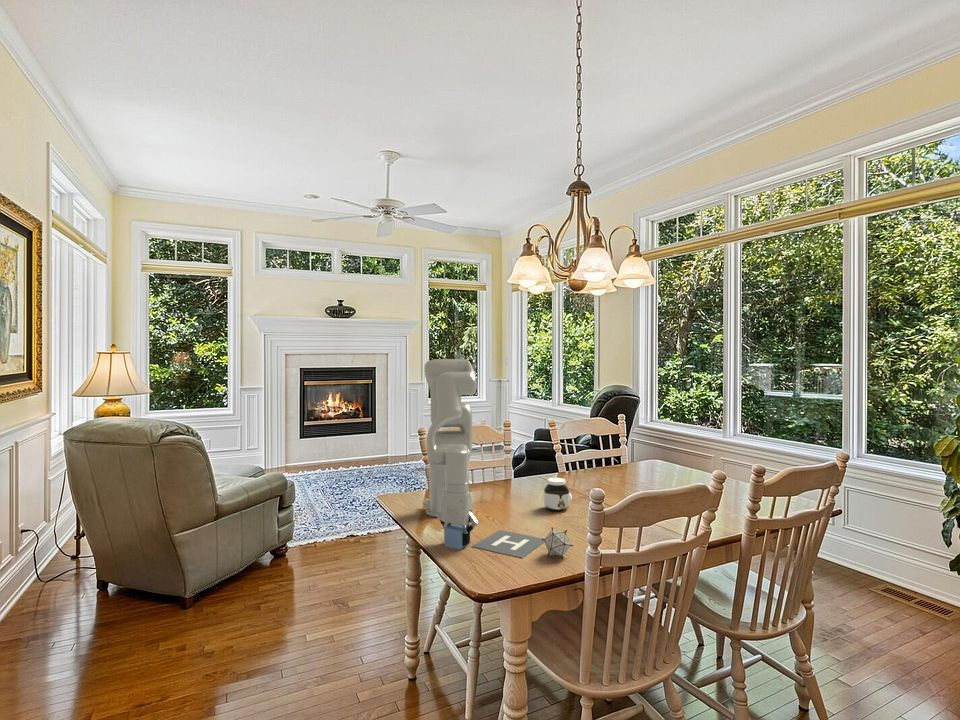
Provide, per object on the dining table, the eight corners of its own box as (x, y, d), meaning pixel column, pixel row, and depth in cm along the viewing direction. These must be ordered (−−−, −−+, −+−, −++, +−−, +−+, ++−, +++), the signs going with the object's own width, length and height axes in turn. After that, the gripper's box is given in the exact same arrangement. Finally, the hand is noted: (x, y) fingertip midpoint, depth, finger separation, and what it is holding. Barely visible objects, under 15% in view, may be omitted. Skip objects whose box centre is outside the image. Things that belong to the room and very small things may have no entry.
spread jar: (545, 512, 205) (545, 482, 205) (541, 503, 216) (541, 475, 216) (576, 512, 205) (576, 482, 205) (570, 503, 216) (570, 475, 216)
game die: (542, 556, 165) (532, 536, 160) (559, 536, 169) (550, 516, 164) (564, 569, 159) (554, 549, 154) (581, 548, 162) (572, 528, 157)
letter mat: (472, 546, 169) (472, 545, 169) (499, 530, 184) (499, 529, 184) (522, 558, 160) (522, 557, 160) (547, 539, 175) (547, 539, 175)
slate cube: (444, 546, 170) (444, 527, 170) (455, 540, 175) (454, 522, 175) (459, 549, 167) (459, 531, 167) (470, 543, 172) (470, 525, 172)
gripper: (428, 486, 172) (428, 541, 172) (473, 493, 163) (473, 551, 163) (442, 481, 178) (442, 534, 178) (486, 488, 169) (486, 544, 169)
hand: (457, 542), depth 171 cm, fingers closed on slate cube, 6 cm apart
